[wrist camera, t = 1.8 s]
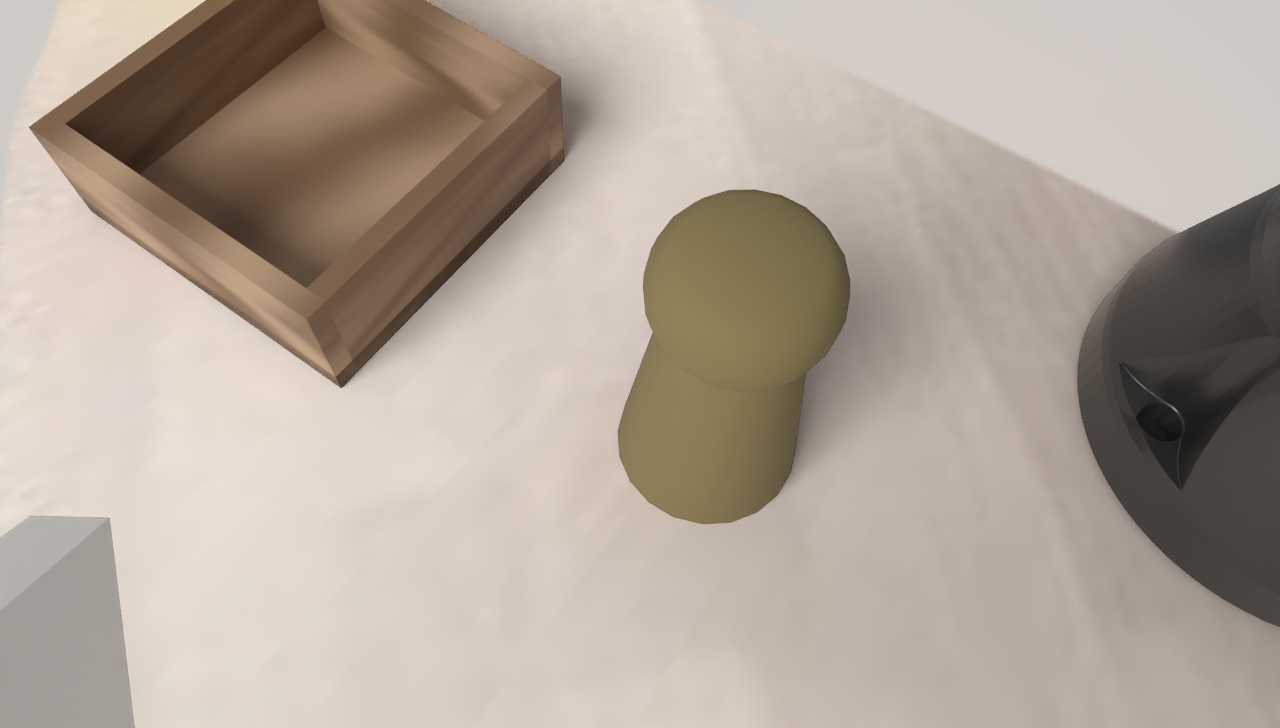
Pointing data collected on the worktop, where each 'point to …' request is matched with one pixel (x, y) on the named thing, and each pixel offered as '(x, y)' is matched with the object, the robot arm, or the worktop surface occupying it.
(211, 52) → the walnut crate
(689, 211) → the cork
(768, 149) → the worktop surface
